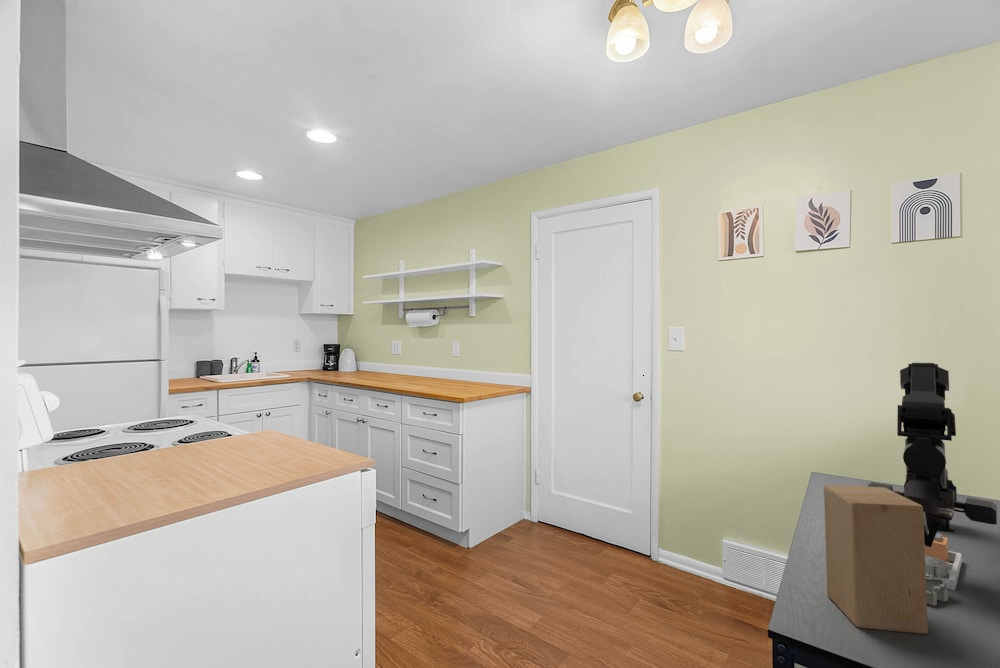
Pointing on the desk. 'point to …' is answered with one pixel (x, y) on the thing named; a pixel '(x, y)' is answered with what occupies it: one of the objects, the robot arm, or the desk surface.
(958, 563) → the chassis
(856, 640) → the desk surface
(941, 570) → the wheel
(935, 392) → the robot arm
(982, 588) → the desk surface
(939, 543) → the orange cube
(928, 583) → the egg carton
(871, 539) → the wooden block
